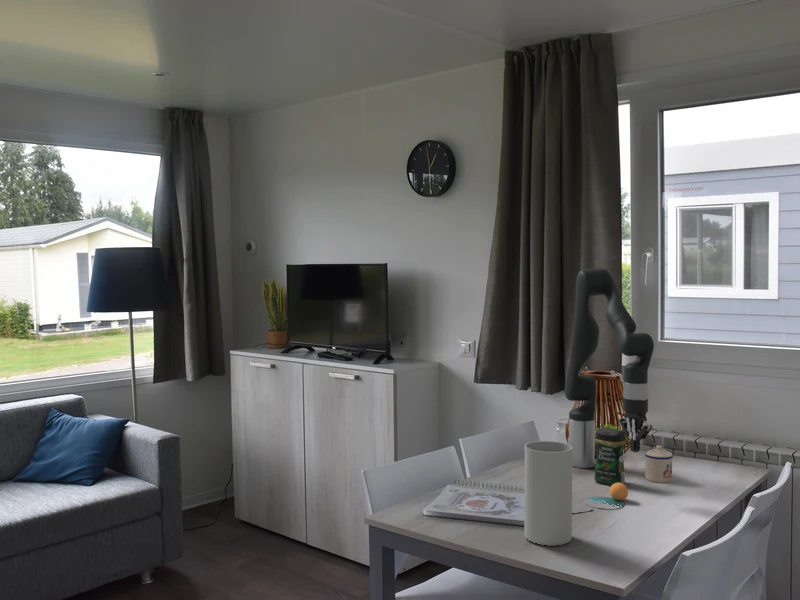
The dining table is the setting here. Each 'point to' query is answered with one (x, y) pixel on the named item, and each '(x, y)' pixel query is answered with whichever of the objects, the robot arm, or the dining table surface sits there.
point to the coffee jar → (609, 456)
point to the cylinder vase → (548, 493)
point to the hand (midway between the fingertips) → (635, 451)
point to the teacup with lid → (658, 465)
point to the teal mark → (607, 501)
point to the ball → (619, 491)
